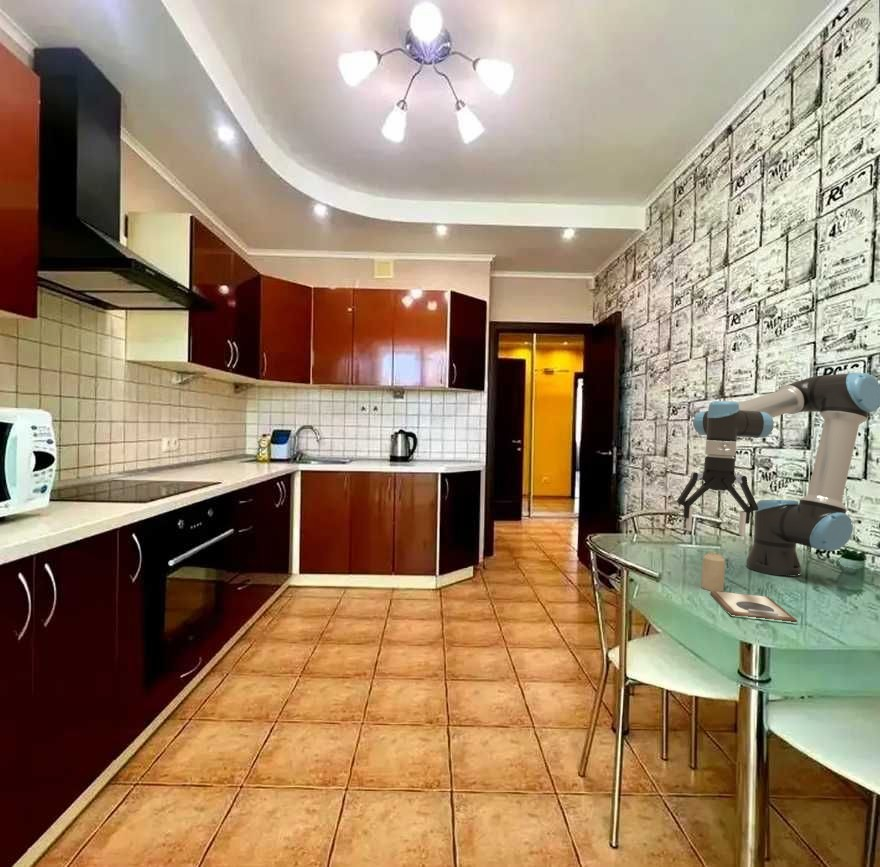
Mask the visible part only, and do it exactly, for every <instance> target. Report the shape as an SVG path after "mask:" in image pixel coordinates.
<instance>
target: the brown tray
mask: <svg viewBox="0 0 880 867" xmlns="http://www.w3.org/2000/svg"><path fill="white" fill-rule="evenodd" d="M709 594H710V596H711V597H712V598H713V599H714V600H715V601H716V603H718V605H719V606H722V607H723V608H724V609H725V610H726V611H727V612H729V613H730V614H731V615H735V616H748V617H756V618H765V619H774V620H782V621H791V622H797V623H798V620H797V618H795V617H794V616H792V615H791V614H790V613H789V612H788V611H786V610H785V609H784V608H783V607H781V606H780V605H779V604H777V602H775V601H774V600H773V599H772V598H770V597H769V596H764V595H758V594H757V595H755V594H745V593H736V592H727V591H721V592H719V591H710V593H709ZM722 607H721V608H722ZM723 608H722V609H723ZM724 609H723V610H724ZM725 610H724V611H725ZM726 611H725V612H726ZM727 612H726V613H727Z"/></svg>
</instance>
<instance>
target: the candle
mask: <svg viewBox="0 0 880 867" xmlns="http://www.w3.org/2000/svg"><path fill="white" fill-rule="evenodd" d="M725 569H726V559H725V558H724V557H723V555H721V553H715V552H712V551H710V552H708V553H707V554H705V555H704V556H703V558H702V570H701V571H702V572H701V588H702V589H704V590H706V591H710V592H711V591H719V592H724V586H725V585H724V584H725V572H726V570H725Z"/></svg>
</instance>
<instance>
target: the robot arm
mask: <svg viewBox="0 0 880 867" xmlns="http://www.w3.org/2000/svg"><path fill="white" fill-rule="evenodd" d="M879 408H880V382H879V381H878V380H877V379H876V378H875V377H874V376H873V375H871V374H870V373H867V372H866V373H865V372H858V373H857V372H850V373H838V374H821V375H815V376H811V377H810V376H809V377H807V378H804V379H801V380H798V381H794V382H792V383H788V384H785V385H782V386H781V387H779V389H778V390H776V391H774V392H771V393H767V394H763V395H761V396H757V397H754V398H751V399H747V400H744V401H741V402H737V401H730V400H729V401H728V400H727V401H726V400H715V401H711V402H709V405H708V410H705V411H700V412H698V413H696V415H695V416H694V418H693V422H692V424H693V428H694V430H695V431H696V433H697V434H699V435H702V436H703V435H704V436H706V439H705V440H706V441H705V452H704V453H705V455H707V456H705V457H704V466H703V467H704V468H703V472H702V473H699V472H696V471H692V472H691V475H690V479H689V481H688V482H687V484H686V486H685V487H684V488H683V490H682V492H681V494H680V495H679V496H678V499H677V501H676V502H677V503H678V504H679V505H682V506H683V513H682V516H683V518H684V519H686V526H685V530H687V531H688V532H692V528H693V526H692V524H693V510H694V507H692V505H693V504H695V502H696V501H698V499H700V497H701V496H703V495H704V493H706V492H707V491H708V490H709V489H710V490H711V491H712V490H713V491H717V490H718V491H722V492H723V491H724V492H725V491H728V493H729V494H730V495H731V496H732V497H733V499H734V500H735V501H736V503H738V504H737V505H739V506H740V507H741V509H742V510H739V521H738V522H739V523H738V535H740V536H741V537H746V536H745V535H746V524H748V525H749V524H750V521H751V519H750V518H751V513H752V512H754V532H753V533H754V534H753V545H752V547H751V549H750V551H749V553H748V556H747V557H746V563H745V564H746V566H745V567H747V568H748V569H750V570H753V571H755V572H759V573H763V574H767V575H772V574H773V575H774V576H779V575H786V576H785V577H791V576H790V575H798V574H800V573H801V574H802V567H801V566H802V565H801V564H800V559H799V556H798V553H797V549H796V548H797V545H800V546H805V547H808V548H813V549H816V550H818V551H819V550H821V551H827V552H834V551H837V550H840V549H841V548H842V547H843V548H844V547H845V546H846V545H847V544H848V542H849V541H850V539H851V537H852V535H853V529H854V525H853V524H852V523H853V522H852V519H851V517H850V516H849V515H848V514H847V507H846V506H845V505H844V504H843V502H842V501H843V498H844V493H845V488H846V484H847V480H848V474H849V471H850V467H851V461H852V459H853V453H854V450H855V449H854V448H855V446H856V445H855V444H856V440H857V436H858V433H859V432H858V431H859V427H860V425H861V424H863V423H865V422H867V420H868V416H869V413H873V412H875V411H877V410H878V409H879ZM803 412H804V413H808V412H809V413H811V412H812V413H814V412H818V413H819V415H820V416H821V417H822V419H823V424H822V425H823V426H822V429H821V434H820V438H819V443H818V448H817V452H816V456H815V459H814V460H815V461H814V465H813V470H812V474H811V477H810V481H809V486H808V491H807V495H805V496H803V497H802V498H800V499H799V501H798V500H793V499H787V500H786V499H761V500H758V501H757V502H756V500H755V498H754V496H753V494H752V492H751V490H750V487H749V485H748V477H747V476H745V475H741V474H740V475H737V476H736V475H735V471H736V470H735V468H736V467H735V466H736V460H735V458H734V457H736V453H737V452H736V451H737V440H738V438H742V437H743V438H753V439H759V438H760V439H762V438H767V437H768V436H769V435H771V433H772V432H773V430H774V425H775V422H774V419H773V418H776V417H779V416H781V415H785V414H788V415H796V414H799V413H803ZM700 479H702V480H703V481H704V483H703V484H702V485H700V487H699V488H698V489H697V490H696V491H694V492H693V494H691V491H692V490H693V488H694V487H695V485H696V483H697V482H698V481H700ZM735 482H737V484H739V486H740V489H741V490H742V492H743V494H744V496H745V499H746V500H747V503H748V504H747V503H746V502H745V500H744V499H743V497H742V496H741V495H740V494H739V492H738V491H737V490H736V489H735V487H734V486H733V484H734V483H735ZM690 494H691V496H689V495H690ZM688 496H689V497H688ZM787 575H789V576H787Z"/></svg>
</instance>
